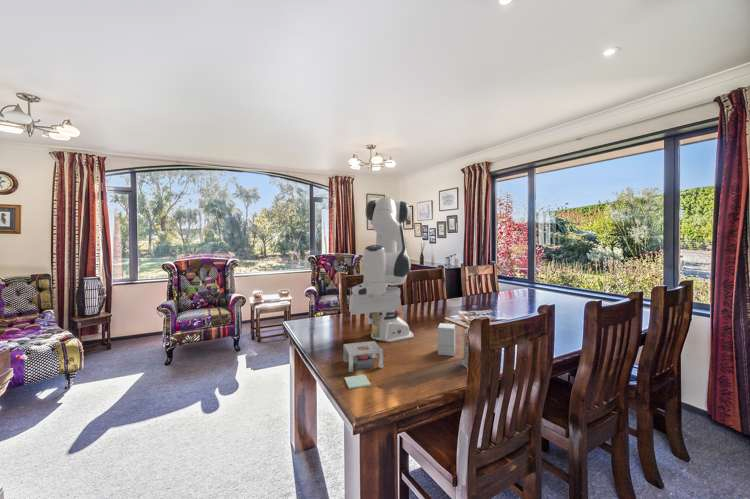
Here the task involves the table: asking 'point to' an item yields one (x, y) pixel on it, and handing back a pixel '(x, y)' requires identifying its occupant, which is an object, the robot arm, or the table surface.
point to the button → (363, 356)
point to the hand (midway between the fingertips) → (375, 323)
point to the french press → (466, 346)
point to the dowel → (376, 324)
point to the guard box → (354, 352)
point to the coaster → (357, 381)
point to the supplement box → (446, 339)
